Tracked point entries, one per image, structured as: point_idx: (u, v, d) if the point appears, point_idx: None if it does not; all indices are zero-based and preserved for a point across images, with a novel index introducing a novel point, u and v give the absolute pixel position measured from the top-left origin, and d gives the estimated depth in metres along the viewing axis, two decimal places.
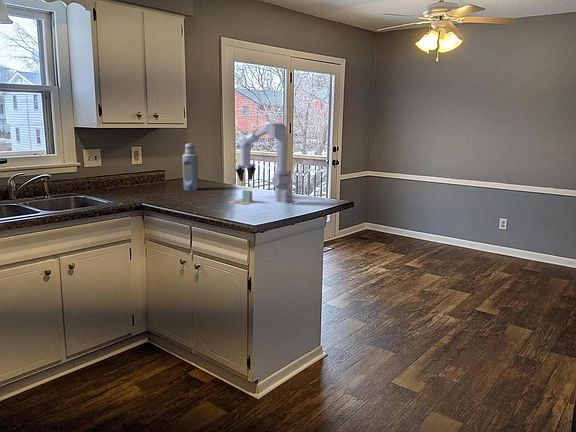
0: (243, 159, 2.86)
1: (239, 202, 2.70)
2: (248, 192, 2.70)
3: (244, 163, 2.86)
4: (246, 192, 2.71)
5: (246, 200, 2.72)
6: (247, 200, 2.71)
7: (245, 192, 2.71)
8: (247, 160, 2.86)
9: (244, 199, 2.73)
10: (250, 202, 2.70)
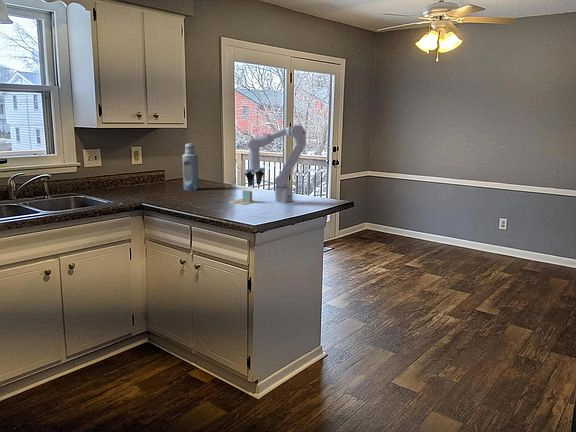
0: (252, 163, 2.70)
1: (239, 202, 2.70)
2: (248, 192, 2.70)
3: (253, 167, 2.71)
4: (246, 192, 2.71)
5: (246, 200, 2.72)
6: (247, 200, 2.71)
7: (245, 192, 2.71)
8: (256, 164, 2.71)
9: (244, 199, 2.73)
10: (250, 202, 2.70)
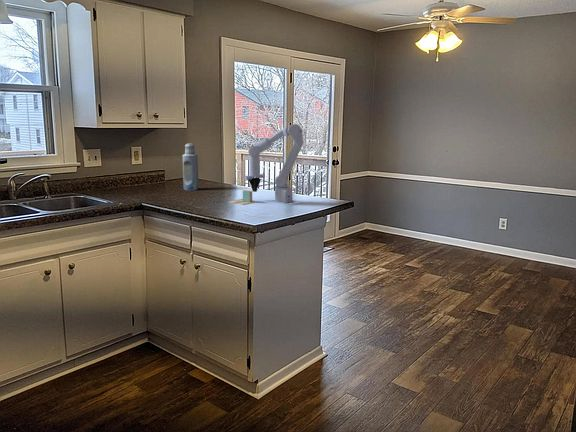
0: (252, 169, 2.71)
1: (239, 202, 2.70)
2: (248, 192, 2.70)
3: (253, 174, 2.71)
4: (246, 192, 2.71)
5: (246, 200, 2.72)
6: (247, 200, 2.71)
7: (245, 192, 2.71)
8: (256, 170, 2.71)
9: (244, 199, 2.73)
10: (250, 202, 2.70)
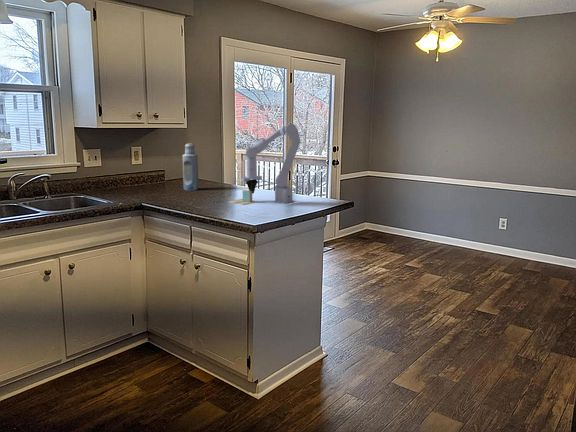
0: (249, 171, 2.69)
1: (239, 202, 2.70)
2: (248, 192, 2.70)
3: (250, 175, 2.70)
4: (246, 192, 2.71)
5: (246, 200, 2.72)
6: (247, 200, 2.71)
7: (245, 192, 2.71)
8: (253, 172, 2.70)
9: (244, 199, 2.73)
10: (250, 202, 2.70)
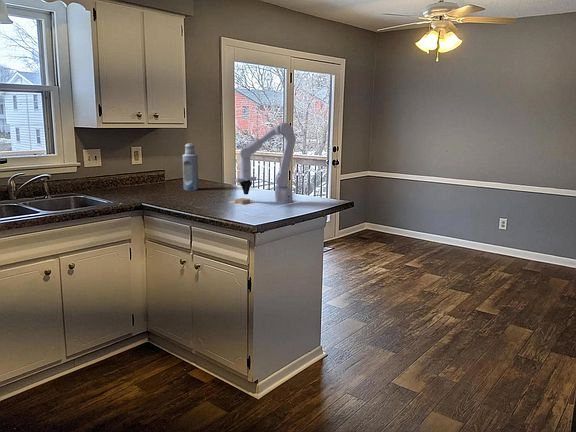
0: (243, 172, 2.66)
1: None
2: None
3: (244, 176, 2.66)
4: None
5: None
6: None
7: (239, 202, 2.68)
8: (247, 173, 2.66)
9: None
10: (250, 202, 2.70)
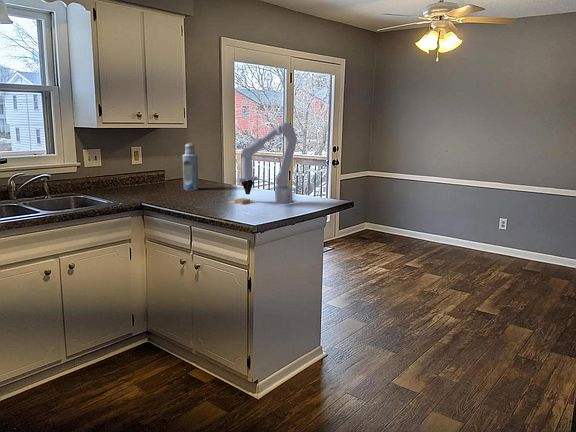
0: (245, 172, 2.67)
1: None
2: None
3: (246, 176, 2.67)
4: None
5: None
6: None
7: (239, 202, 2.68)
8: (249, 173, 2.67)
9: None
10: (250, 202, 2.70)
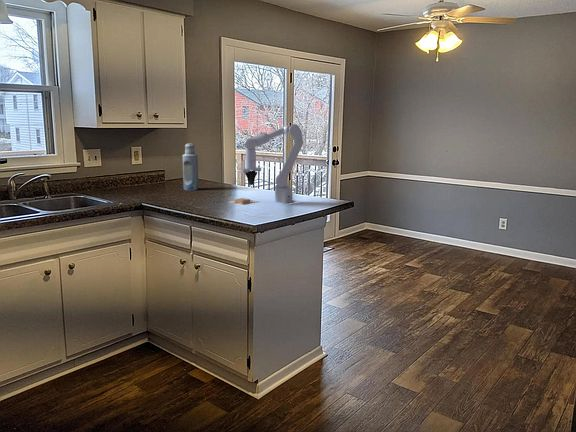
0: (248, 162, 2.68)
1: None
2: None
3: (249, 167, 2.68)
4: None
5: None
6: None
7: (239, 202, 2.68)
8: (253, 163, 2.68)
9: None
10: (250, 202, 2.70)
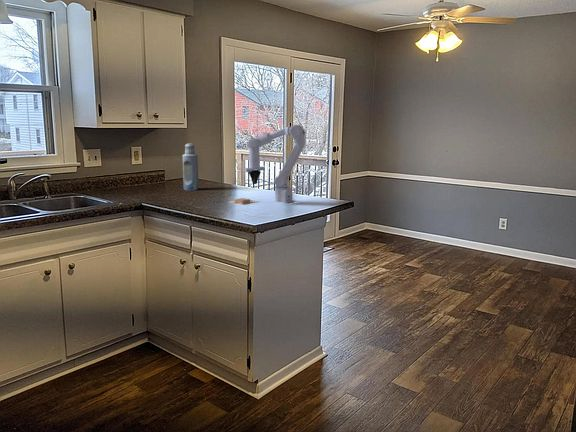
0: (252, 162, 2.72)
1: None
2: None
3: (253, 166, 2.72)
4: None
5: None
6: None
7: (239, 202, 2.68)
8: (256, 163, 2.72)
9: None
10: (250, 202, 2.70)
